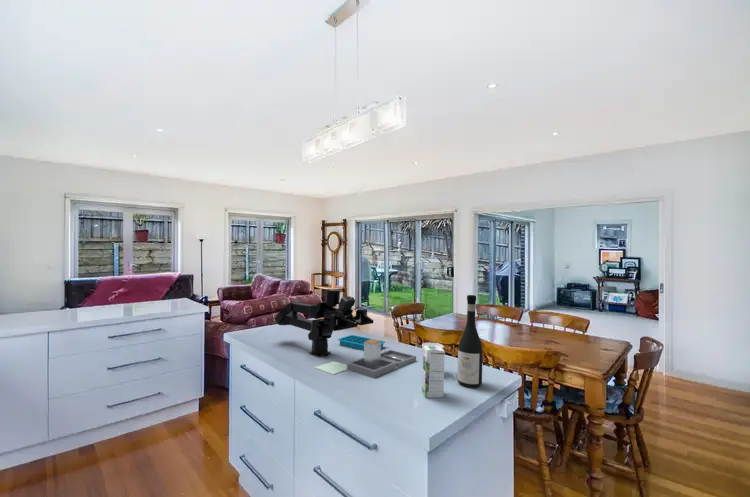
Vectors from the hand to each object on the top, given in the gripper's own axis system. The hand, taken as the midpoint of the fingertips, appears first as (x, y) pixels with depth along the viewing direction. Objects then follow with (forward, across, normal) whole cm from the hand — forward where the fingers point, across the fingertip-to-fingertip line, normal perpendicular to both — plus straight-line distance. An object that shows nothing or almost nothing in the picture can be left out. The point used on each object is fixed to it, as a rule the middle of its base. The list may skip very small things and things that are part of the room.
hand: (365, 323), depth 132 cm
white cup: (+23, +13, +16) cm, 30 cm away
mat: (-6, -9, +17) cm, 20 cm away
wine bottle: (+38, +12, +15) cm, 42 cm away
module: (+5, 0, +16) cm, 17 cm away
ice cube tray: (-19, +21, +18) cm, 34 cm away
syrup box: (+33, -4, +15) cm, 36 cm away
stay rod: (+5, +14, +16) cm, 22 cm away
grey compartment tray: (+5, +7, +16) cm, 18 cm away
